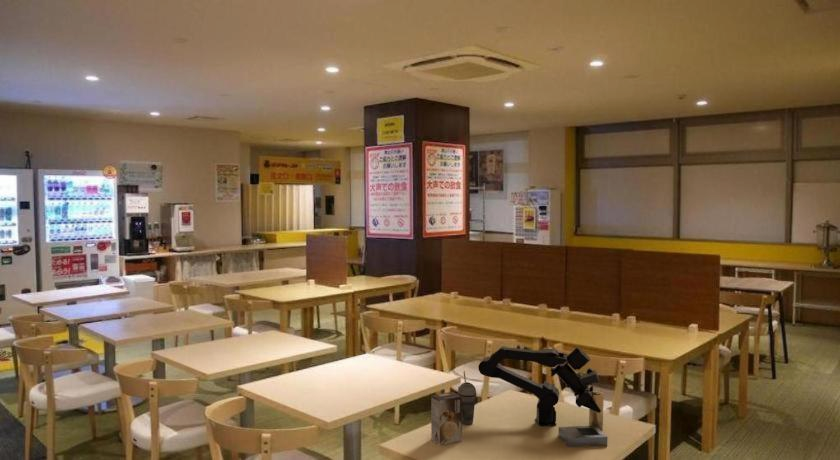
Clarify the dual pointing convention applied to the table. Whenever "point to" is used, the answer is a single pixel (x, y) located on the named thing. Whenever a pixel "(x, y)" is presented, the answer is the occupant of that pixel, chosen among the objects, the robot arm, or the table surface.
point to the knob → (594, 416)
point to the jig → (582, 436)
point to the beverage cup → (467, 401)
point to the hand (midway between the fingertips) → (600, 409)
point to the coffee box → (446, 418)
